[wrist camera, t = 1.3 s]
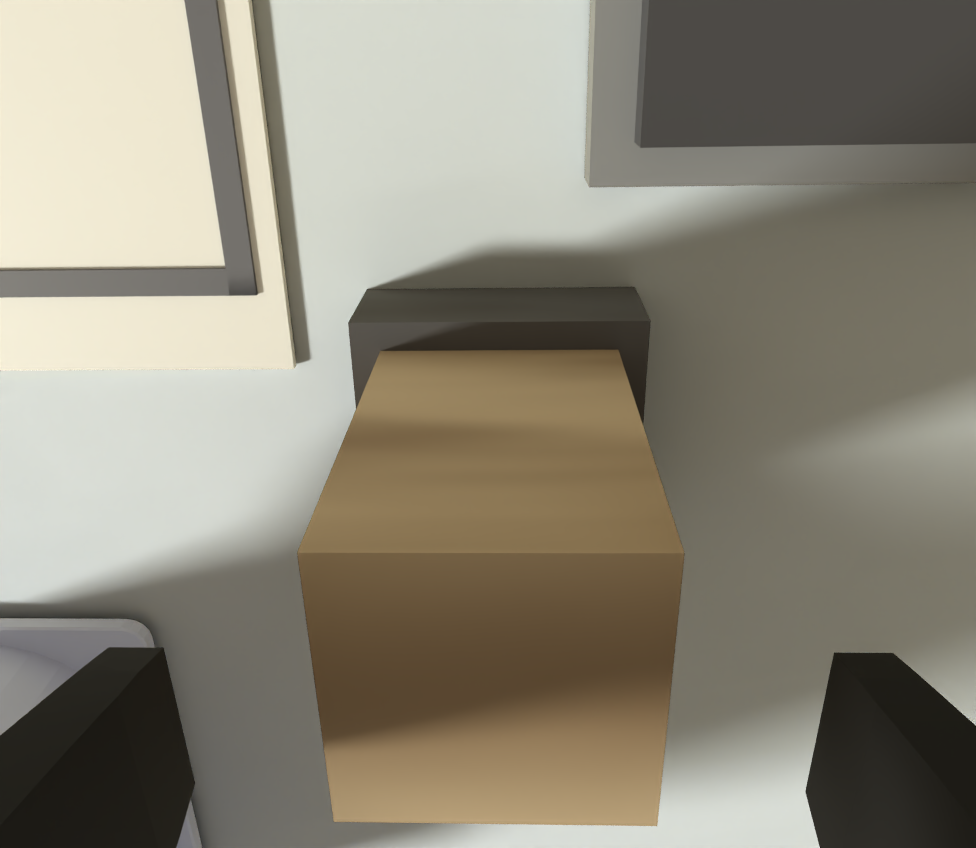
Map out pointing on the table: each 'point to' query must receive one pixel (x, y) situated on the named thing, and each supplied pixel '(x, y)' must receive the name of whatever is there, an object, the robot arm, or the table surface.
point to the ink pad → (780, 92)
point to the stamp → (494, 564)
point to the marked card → (137, 189)
